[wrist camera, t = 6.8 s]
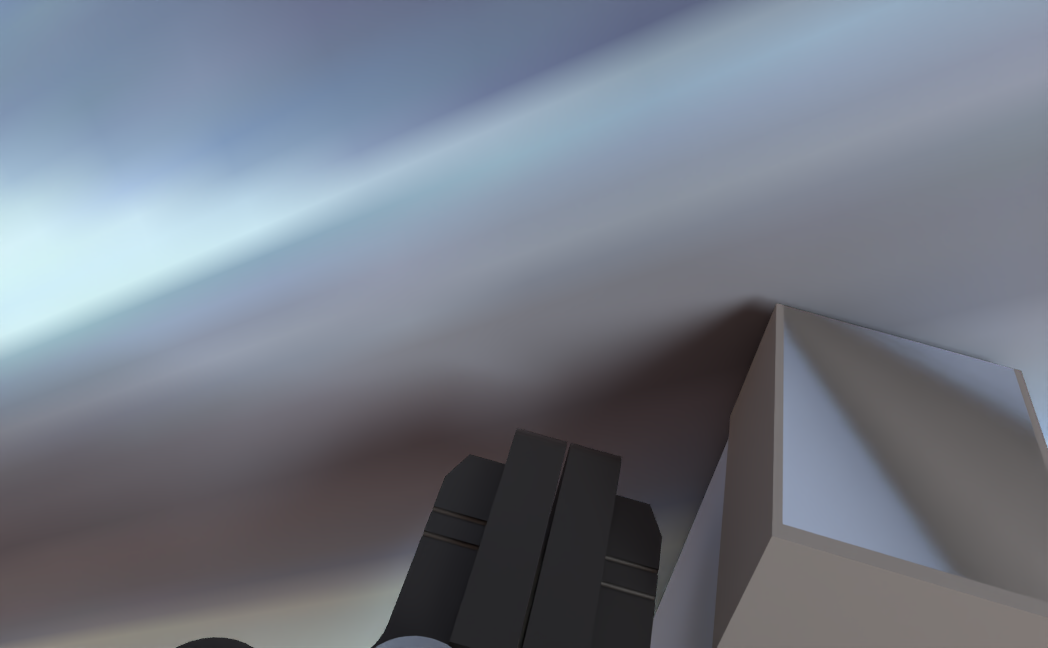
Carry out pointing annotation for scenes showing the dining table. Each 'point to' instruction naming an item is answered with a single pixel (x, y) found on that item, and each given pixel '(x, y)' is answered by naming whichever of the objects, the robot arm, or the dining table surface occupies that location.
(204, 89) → the dining table surface
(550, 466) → the robot arm
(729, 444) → the leg
